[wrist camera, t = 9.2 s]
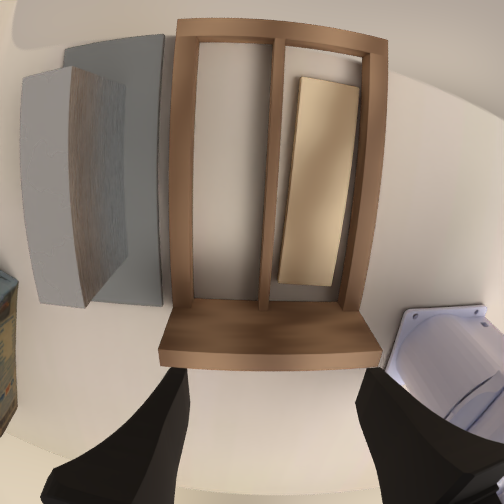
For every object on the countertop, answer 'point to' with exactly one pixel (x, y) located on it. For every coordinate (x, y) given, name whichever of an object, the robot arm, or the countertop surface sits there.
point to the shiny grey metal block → (73, 182)
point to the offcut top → (318, 181)
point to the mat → (134, 159)
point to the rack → (272, 220)
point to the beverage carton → (7, 349)
